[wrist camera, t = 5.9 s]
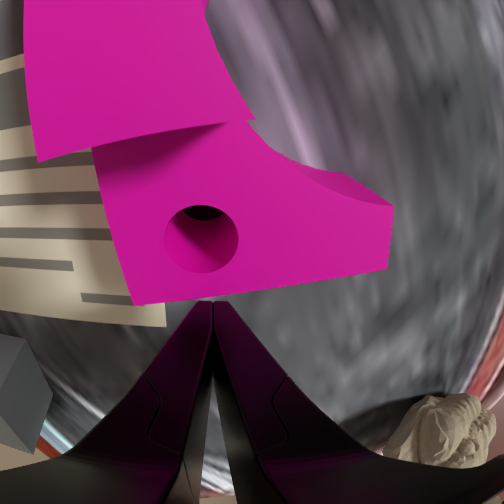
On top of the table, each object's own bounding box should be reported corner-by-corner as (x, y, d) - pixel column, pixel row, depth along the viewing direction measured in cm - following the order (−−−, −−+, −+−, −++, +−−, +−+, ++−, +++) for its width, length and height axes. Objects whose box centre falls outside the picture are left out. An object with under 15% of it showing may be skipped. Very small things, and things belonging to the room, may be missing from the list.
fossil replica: (483, 373, 20) (534, 452, 12) (430, 429, 24) (465, 505, 15) (395, 374, 18) (458, 501, 9) (334, 440, 21) (367, 547, 12)
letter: (166, 325, 14) (166, 327, 14) (-5, 308, 12) (-6, 309, 12) (168, 32, 8) (168, 31, 8) (-40, 76, 7) (-42, 76, 7)
